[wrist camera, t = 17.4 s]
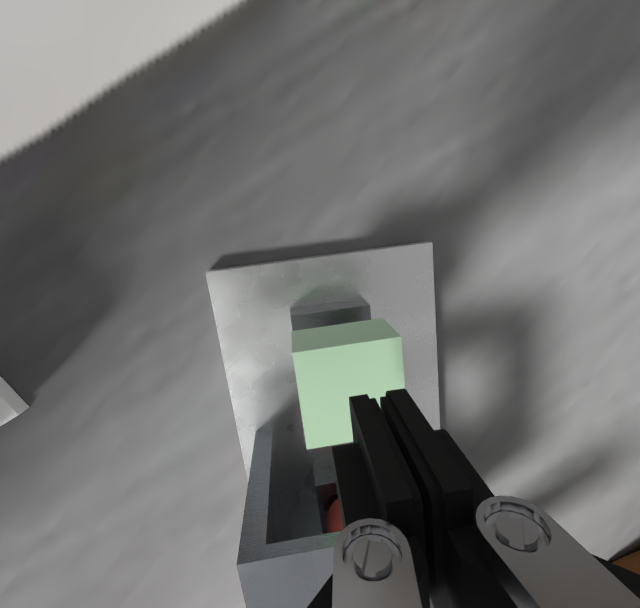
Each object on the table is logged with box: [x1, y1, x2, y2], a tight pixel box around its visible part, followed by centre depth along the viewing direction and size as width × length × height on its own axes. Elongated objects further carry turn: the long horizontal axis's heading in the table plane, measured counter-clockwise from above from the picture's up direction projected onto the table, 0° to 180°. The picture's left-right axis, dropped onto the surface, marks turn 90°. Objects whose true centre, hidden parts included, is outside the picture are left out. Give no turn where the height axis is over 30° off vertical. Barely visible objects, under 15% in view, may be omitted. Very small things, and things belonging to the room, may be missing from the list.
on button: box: [291, 318, 405, 449], centre depth 15 cm, size 4×4×4 cm
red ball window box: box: [205, 241, 440, 608], centre depth 17 cm, size 12×20×9 cm, turn 7°
